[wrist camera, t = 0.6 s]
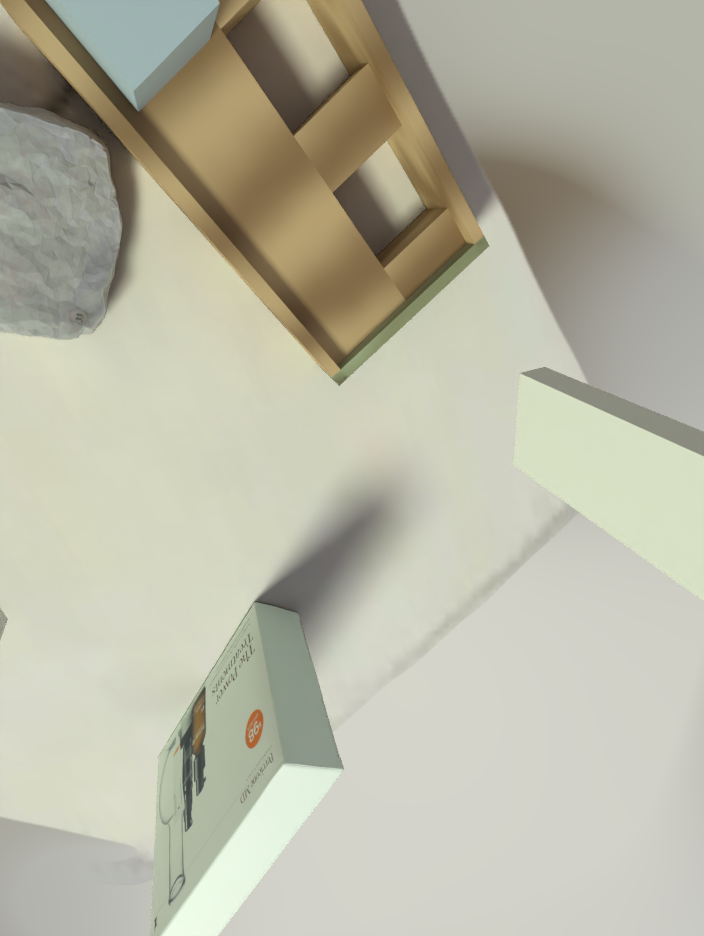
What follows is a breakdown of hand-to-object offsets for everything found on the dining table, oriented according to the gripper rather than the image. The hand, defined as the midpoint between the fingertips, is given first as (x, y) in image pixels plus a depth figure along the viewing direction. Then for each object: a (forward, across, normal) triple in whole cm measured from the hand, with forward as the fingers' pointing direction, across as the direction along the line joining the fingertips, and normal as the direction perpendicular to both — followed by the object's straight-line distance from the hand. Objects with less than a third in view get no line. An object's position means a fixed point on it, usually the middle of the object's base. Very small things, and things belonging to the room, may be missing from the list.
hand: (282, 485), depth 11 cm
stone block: (+26, -8, +6) cm, 27 cm away
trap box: (+25, +7, +8) cm, 27 cm away
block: (+22, 0, +14) cm, 26 cm away
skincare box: (+25, -7, -35) cm, 44 cm away
